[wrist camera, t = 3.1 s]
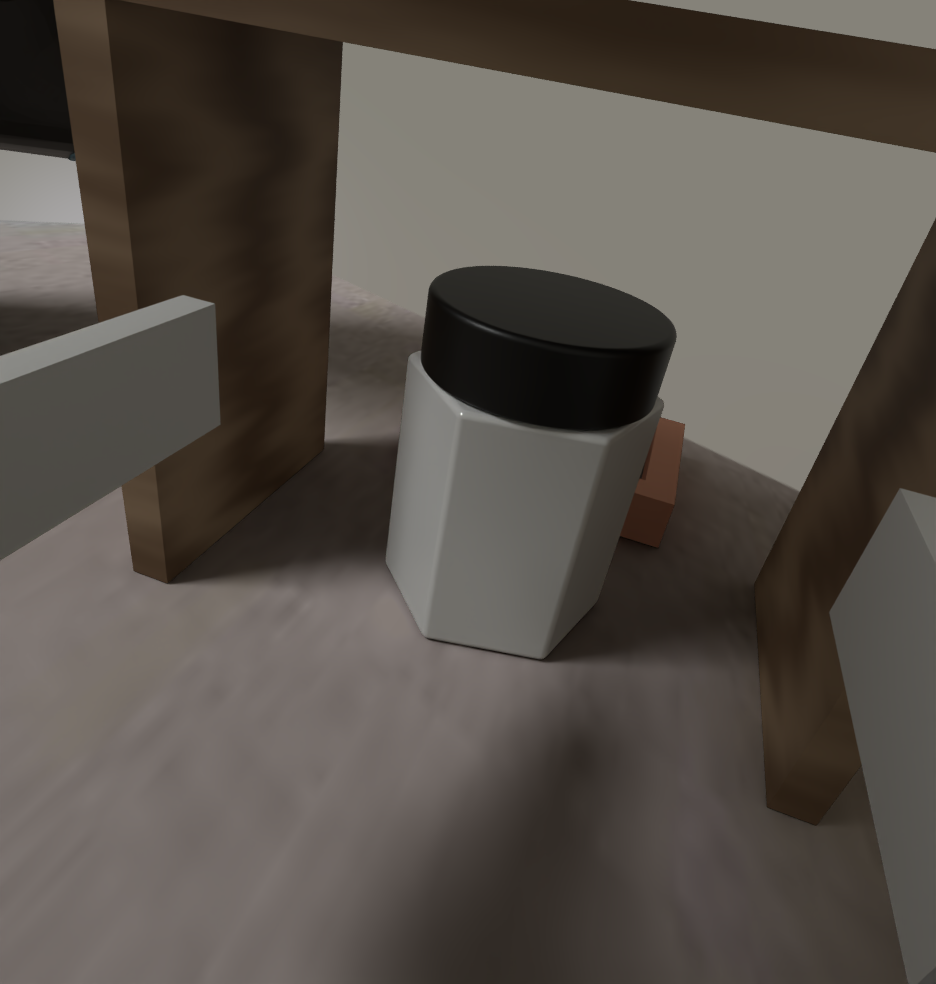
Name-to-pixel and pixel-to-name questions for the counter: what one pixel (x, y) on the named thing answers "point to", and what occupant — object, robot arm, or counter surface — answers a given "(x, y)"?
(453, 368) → the jar
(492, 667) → the counter surface
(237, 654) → the counter surface
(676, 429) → the tray
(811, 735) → the archway
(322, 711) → the counter surface
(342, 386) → the counter surface
